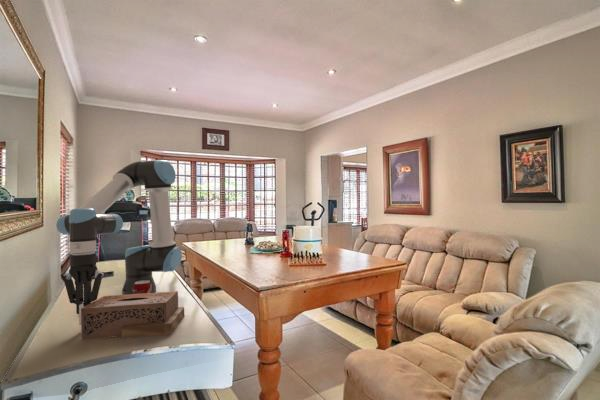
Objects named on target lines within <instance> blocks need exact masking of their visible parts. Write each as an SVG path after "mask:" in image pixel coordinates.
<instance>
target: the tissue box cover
mask: <svg viewBox="0 0 600 400" xmlns="http://www.w3.org/2000/svg"><path fill="white" fill-rule="evenodd" d="M178 307H179V291H178V290H175V291H174V290H173V291H162V292H154V293H143V294H128V295H122V294H118V295H117V294H116V295H104V296H102V297H100V298H97V299H96V300H95V301H93V302H91V304H89V305H87V306H85V307H83V308H81V325H80V326H81V328H80V329H81V330H80V331H81V332H80V333H81V340H93V338H94V339H103V337H106V338H115V337H114V336H118V337H122V326H124V325H128V324H141V323H154V322H166V321H167V320H168V319H169V318H170V317H171V316H172V315H173V313H174V312H175V311H176V310H177V309H178ZM112 336H113V337H112Z"/></svg>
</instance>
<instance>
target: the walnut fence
mask: <svg viewBox="0 0 600 400" xmlns="http://www.w3.org/2000/svg"><path fill="white" fill-rule="evenodd" d="M184 318H185V306H178V309H177V310H176V311H175V312H174V313H173V315H172V316H171V317H170V318H169V319H168V320H167V321H166V322H154V323H141V324H128V325H124V326H122V336H121V339H127V337H132V338H142V337H141V336H144V337H152V336H165V335H172V334H173V333H174V332H175V330H176V328H178V326H179V325H180V323H181V322H182V320H183V319H184Z"/></svg>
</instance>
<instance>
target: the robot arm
mask: <svg viewBox="0 0 600 400" xmlns="http://www.w3.org/2000/svg"><path fill="white" fill-rule="evenodd" d="M176 176H177V175H176V171H175V167H174V166H173V165H172V163H171V162H170V161H168V160H166V159H165V160H164V159H156V160H155V159H154V160H153V159H152V160H141V161H140V160H139V161H134V162H131V163H129V164H127V165H126V166H124V167H123V168H122V169H120V170H118V171H117V172H116V173H114V174H113V175H112V179H111V180H110V181H109V182H108V183H107V184H106V185H104V187H102V188H101V189H100V190H98V191H97V192H96V193H95V194H94V195H92V197H91V198H89V199H88V200H87V201H85V203H83V204H82V205H81V206H80V207H79V208H73V209H71V210H70V212H69V214H66V215H61V216H60V217H59V218H58V219H57V220H56V224H55V225H56V229H57V231H58V232H59V233H60V234H62V235H66V236H69V254H71V255H69V269H68V272H67V273H65V274H63V275H61V276H60V278H61V280H62V282H63V283H64V285H65V289H66V293H67V297H68V300H69V303H70V304H74V305H76V306H75V307H76V308H75V309H76V315H78V323H79V324H78V325H79V326H81V308H83V307H85V306H87V305H89V304H91V303H92V302H94V301H96V300H98V298H99V297H98V296H99V291H100V288H101V284H102V280H103V278H104V277H105V275H106V273H105V272H104V271H103V272H101V271H99V269H98V267H97V253H95V252H97V235H98V236H99V235H107V234H110V235H113V234H115V233H118V232H120V231H121V230H122V228H123V227H124V221H123V218H122V216H121V215H119V214H117V213H111V212H110V213H105V212H106V211H107V210H108V209H109V208H110V207H112V205H114V203H116V202H117V201H118V200H119V199H120V198H121V197H122V196H123V195H124V194H125V193H127V192H129V191H131V190H133V189H134V188H136V187H140V186H144V190H146V191H147V192H148V200H149V212H150V221H151V222H150V223H151V234H152V242H151V244H146V245H139V246H134V247H128V248H126V250H125V252H124V253H125V254H124V255H125V256H124V259H125V260H124V264H125V265H124V266H125V280H124V283H123V286H122V289H121V295H128V294H133V286H134V285H135V284H134V283H135V282H137V281H143V280H149V281H150V283H151V285H152V293H157V285H156V282H155V279H154V277H153V273H154V272H155V273H156V272H157V273H159V272H164V273H167V272H175V271H176V270H177V269H178V268H179V266H180V264H181V263H182V259H183V253H182V252H183V251H182V250H181V248H180V247H178V246H177V243H176V241H175V240H173V231H172V222H171V208H170V195H169V191H170V190H171V189H172V185H173V184H174V183H175V182H176ZM93 277H94V281H93ZM73 280H74V281H73ZM92 282H93V283H92ZM92 284H93V285H92Z"/></svg>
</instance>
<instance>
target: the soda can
mask: <svg viewBox="0 0 600 400" xmlns="http://www.w3.org/2000/svg"><path fill="white" fill-rule="evenodd" d="M134 284H135V285H134V286H133V294H143V293H152V285H151V283H150V281H149V280H143V281H137V282H135V283H134Z"/></svg>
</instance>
